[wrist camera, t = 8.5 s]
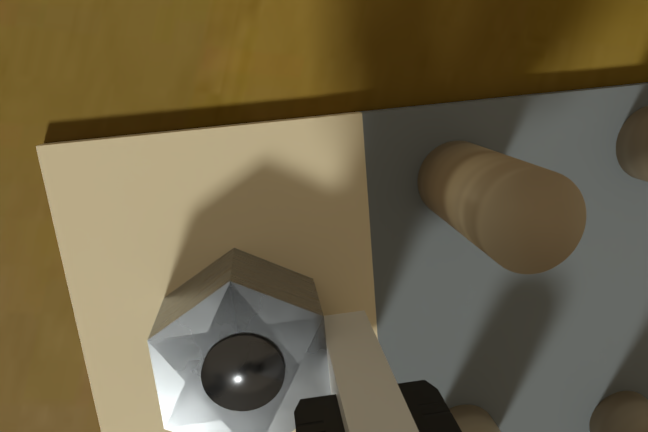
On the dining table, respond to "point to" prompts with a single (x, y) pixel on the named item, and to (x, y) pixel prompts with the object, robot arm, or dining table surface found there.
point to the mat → (367, 248)
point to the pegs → (526, 231)
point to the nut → (239, 348)
